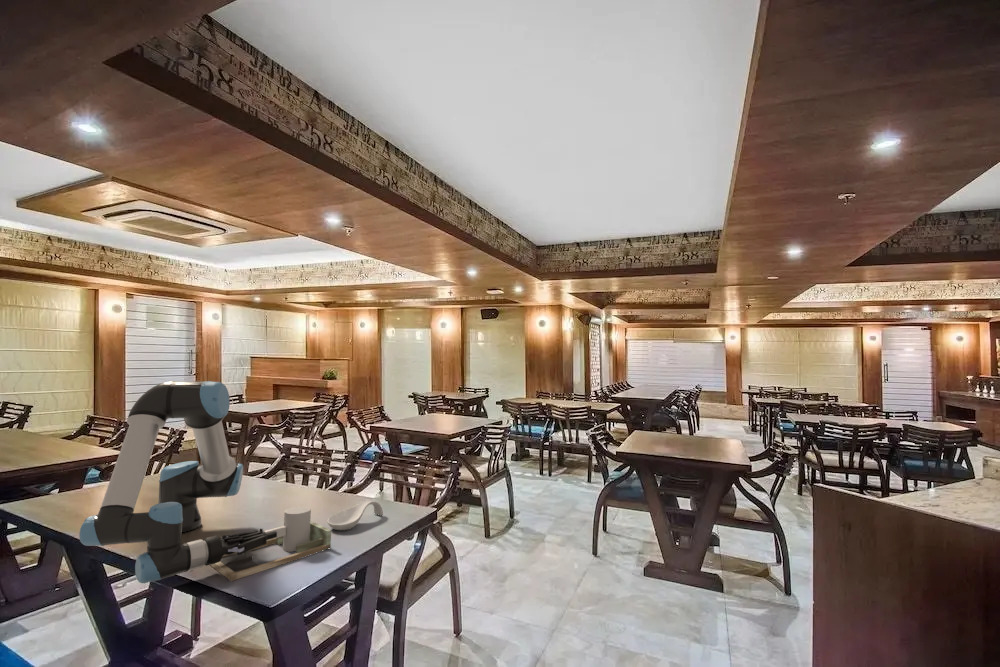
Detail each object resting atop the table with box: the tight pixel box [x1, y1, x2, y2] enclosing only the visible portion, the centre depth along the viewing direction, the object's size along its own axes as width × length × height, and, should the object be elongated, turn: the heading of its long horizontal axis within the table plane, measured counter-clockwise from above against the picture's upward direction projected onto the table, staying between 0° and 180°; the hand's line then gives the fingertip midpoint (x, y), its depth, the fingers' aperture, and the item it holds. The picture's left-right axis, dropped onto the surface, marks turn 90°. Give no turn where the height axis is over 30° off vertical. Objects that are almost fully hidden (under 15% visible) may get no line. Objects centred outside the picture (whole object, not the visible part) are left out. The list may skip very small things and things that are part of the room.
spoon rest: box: [326, 499, 384, 531], centre depth 180 cm, size 24×12×7 cm, turn 149°
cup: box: [282, 505, 312, 553], centre depth 157 cm, size 8×8×12 cm
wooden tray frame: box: [210, 520, 332, 582], centre depth 150 cm, size 19×30×6 cm, turn 140°
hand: (284, 530), depth 153 cm, fingers closed
